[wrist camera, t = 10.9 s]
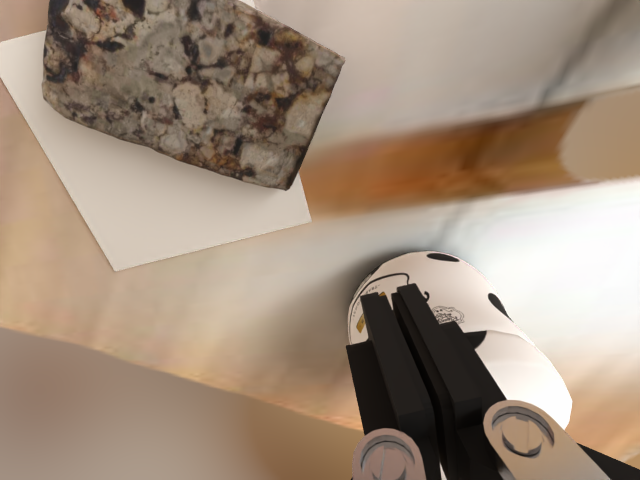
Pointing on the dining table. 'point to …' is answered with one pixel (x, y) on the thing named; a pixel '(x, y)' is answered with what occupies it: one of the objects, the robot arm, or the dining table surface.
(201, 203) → the mat
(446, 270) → the milk container
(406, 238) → the dining table surface
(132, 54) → the stone block
